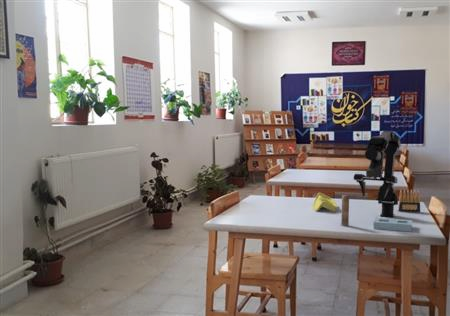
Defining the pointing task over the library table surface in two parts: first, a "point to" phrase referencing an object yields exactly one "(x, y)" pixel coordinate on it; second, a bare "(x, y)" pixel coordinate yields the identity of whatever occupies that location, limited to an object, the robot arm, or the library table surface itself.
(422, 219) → the library table surface
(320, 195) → the plastic component
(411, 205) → the ammunition clip
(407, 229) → the peg board
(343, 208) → the walnut peg
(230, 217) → the library table surface
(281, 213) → the library table surface
